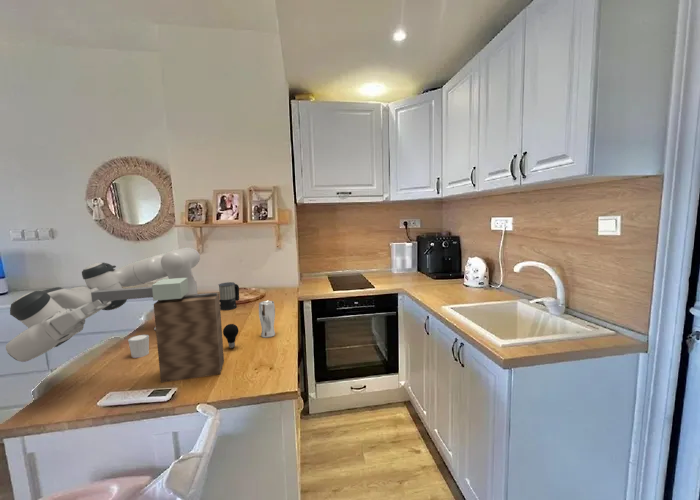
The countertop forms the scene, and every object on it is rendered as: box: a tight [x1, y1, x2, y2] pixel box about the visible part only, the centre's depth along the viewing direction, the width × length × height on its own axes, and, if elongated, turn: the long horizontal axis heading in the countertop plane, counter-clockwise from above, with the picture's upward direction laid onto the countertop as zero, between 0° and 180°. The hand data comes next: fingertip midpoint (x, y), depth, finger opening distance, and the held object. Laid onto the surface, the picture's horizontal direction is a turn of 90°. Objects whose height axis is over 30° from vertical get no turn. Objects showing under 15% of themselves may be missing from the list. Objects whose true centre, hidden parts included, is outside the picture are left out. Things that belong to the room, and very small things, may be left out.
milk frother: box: [218, 281, 240, 311], centre depth 189 cm, size 14×16×15 cm
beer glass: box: [258, 300, 276, 339], centre depth 141 cm, size 7×7×15 cm
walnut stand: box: [153, 292, 225, 383], centre depth 108 cm, size 18×10×27 cm, turn 105°
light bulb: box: [222, 323, 239, 349], centre depth 128 cm, size 6×6×10 cm
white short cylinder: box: [127, 334, 150, 359], centre depth 124 cm, size 7×7×7 cm
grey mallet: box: [91, 278, 189, 302], centre depth 103 cm, size 26×10×5 cm, turn 105°
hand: (108, 297), depth 100 cm, fingers open, 8 cm apart
